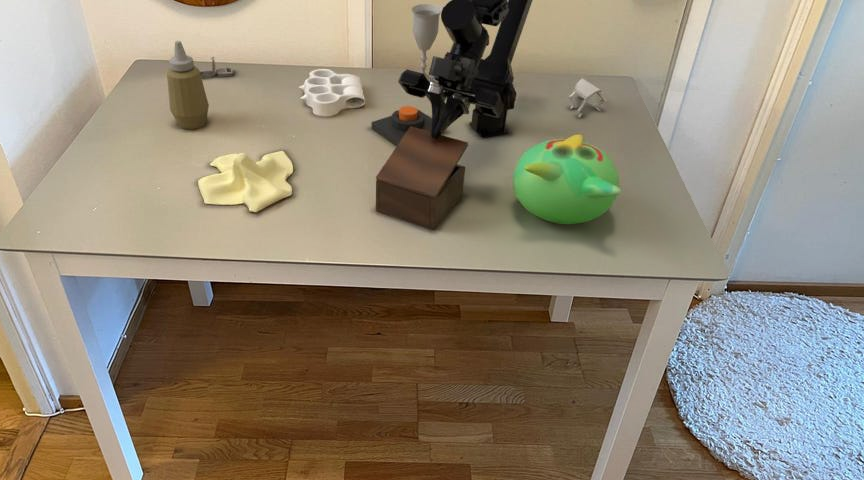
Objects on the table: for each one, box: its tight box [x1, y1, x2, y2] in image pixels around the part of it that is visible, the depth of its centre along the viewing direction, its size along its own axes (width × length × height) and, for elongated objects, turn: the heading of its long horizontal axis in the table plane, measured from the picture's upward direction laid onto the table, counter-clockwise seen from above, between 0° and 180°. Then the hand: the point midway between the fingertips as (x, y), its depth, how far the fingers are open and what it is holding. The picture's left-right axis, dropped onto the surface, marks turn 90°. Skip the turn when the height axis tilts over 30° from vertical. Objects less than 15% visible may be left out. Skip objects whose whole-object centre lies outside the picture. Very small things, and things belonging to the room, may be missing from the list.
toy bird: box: [512, 133, 623, 225], centre depth 119 cm, size 18×17×15 cm
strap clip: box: [200, 56, 234, 79], centre depth 165 cm, size 8×3×4 cm, turn 104°
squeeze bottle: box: [166, 40, 210, 130], centre depth 142 cm, size 8×8×18 cm
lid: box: [375, 126, 469, 199], centre depth 121 cm, size 13×12×1 cm
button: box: [398, 105, 419, 121], centre depth 145 cm, size 4×4×2 cm
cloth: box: [197, 150, 294, 213], centre depth 129 cm, size 22×19×6 cm
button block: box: [371, 107, 445, 147], centre depth 146 cm, size 12×10×4 cm
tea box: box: [375, 163, 466, 231], centre depth 124 cm, size 13×12×6 cm
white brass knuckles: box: [298, 68, 366, 118], centre depth 157 cm, size 3×18×15 cm
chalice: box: [411, 3, 443, 82], centre depth 159 cm, size 7×7×18 cm
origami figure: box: [568, 77, 608, 118], centre depth 156 cm, size 12×8×5 cm
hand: (433, 137), depth 122 cm, fingers closed
